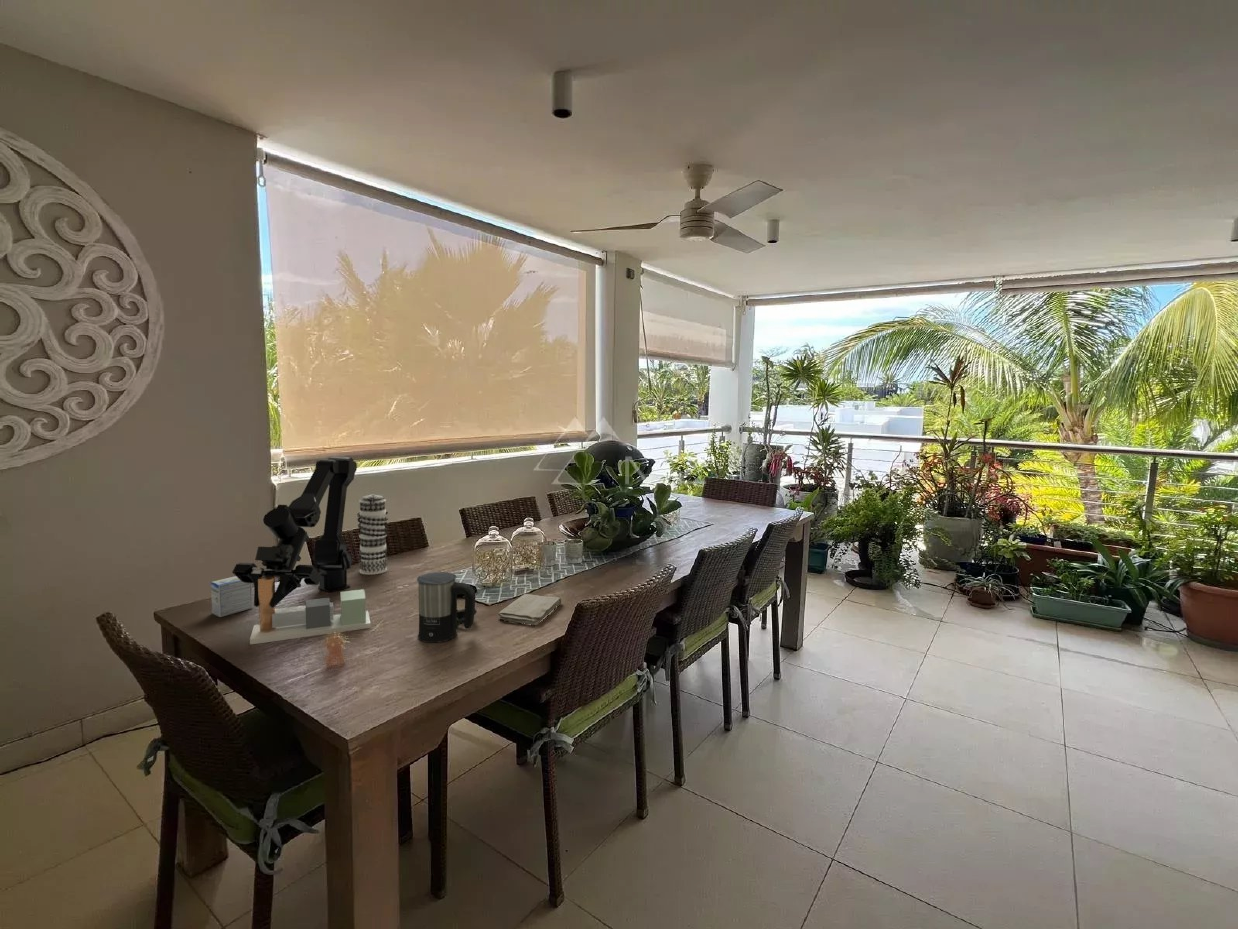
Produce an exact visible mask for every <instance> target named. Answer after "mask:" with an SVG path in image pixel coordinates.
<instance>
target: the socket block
mask: <svg viewBox="0 0 1238 929" xmlns="http://www.w3.org/2000/svg"><path fill="white" fill-rule="evenodd" d="M339 594H340V614H341V624H342V625H350V624H357V623H365V622H366V611H367V610H366V609H367V608H366V607H367V606H366V602H367V601H366V599H367V598H366V592H365V589H363V588H362V589H355V590H345V591H340V593H339Z"/></svg>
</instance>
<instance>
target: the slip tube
mask: <svg viewBox="0 0 1238 929" xmlns="http://www.w3.org/2000/svg"><path fill="white" fill-rule="evenodd" d="M275 592H276V577H274V576H264V577H260V578H258V598H259V606H258V618H259V621H258V622H259V624H258V625H260V631H271V630H274V629H275V628H276V627H284V626H292V625H300V624H306V605H298V606H288V607H281V608H276V606H277V605H276V606H275V607H271V606H270V605H271V601H272V599H273V596H274V594H275ZM333 615H334V602H332V601H330V620H334V618H333Z"/></svg>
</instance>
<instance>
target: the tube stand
mask: <svg viewBox="0 0 1238 929" xmlns="http://www.w3.org/2000/svg"><path fill="white" fill-rule="evenodd" d="M330 598H331V597H324V598H322V597H321V598H314V599H306V600H305V606H306V624H300V625H292V626H284V627H276V628H275V629H274V630H271V631H260V625H259V624H254V625H253V628H252V630H251V631H252V632H251V635H250V637H249V645H256V644H263V643H265V644H266V643H269V642H278V641H285V640H292V639H299V638H307V637H308V638H309V637H315V636H321V635H327V634H329V635H331V634H330V633H332V632H334V633H335V632H336V631H337V632H339V633H340V632H341V633H343V632H344V633H345V632H350V631H356V630H357V631H358V630H365V629H371V626H372V625H371V624H372V623H371V619H370V613H369V610H366V622H365V623H357V624H350V625H342V624H341V613H340V614H333V618H334V620H330V603H331V601H330V600H331V599H330ZM326 633H327V634H326ZM332 634H333V633H332ZM335 634H336V633H335Z"/></svg>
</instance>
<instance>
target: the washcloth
mask: <svg viewBox="0 0 1238 929" xmlns="http://www.w3.org/2000/svg"><path fill="white" fill-rule="evenodd" d="M561 604H562V597H559V596H558V597H557V596H542V595H539V594H538V595H537V594H531V593H524V594H522V595H521V596H520V597H518V598H517V599H515V600H514V601H512V602H510V604H509V605H507V606H506V607H505V608H503V609H502V610H499V612H498V614H497V615H498V619H503V620H504V621H503V620H502V621H503V622H505V621H509V622H508V623H510V622H513V623H512V624H518V623H523V624H522V625H524V623H525V624H531V625H535V626H537V625H539V624H538V623H539V622H540V621H541V620H542V619H543V618H544V617H545V616H546V615H548V614H549V613H550V612H551V611H552V610H553V609H555V608H556V606H559V605H560V606H561ZM560 606H559V607H560ZM556 609H557V608H556ZM556 609H555V610H556ZM531 625H530V626H531Z"/></svg>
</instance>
